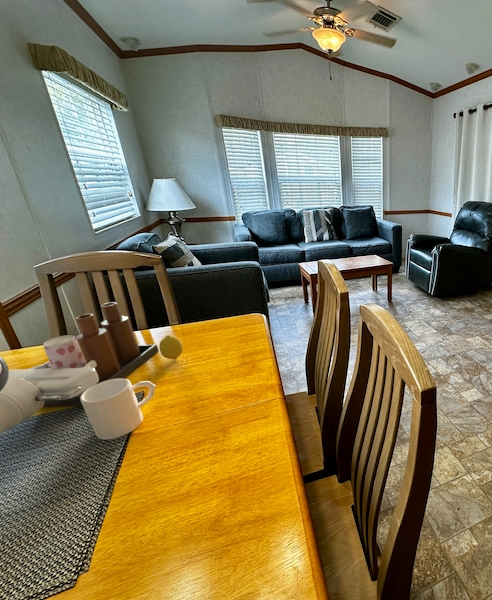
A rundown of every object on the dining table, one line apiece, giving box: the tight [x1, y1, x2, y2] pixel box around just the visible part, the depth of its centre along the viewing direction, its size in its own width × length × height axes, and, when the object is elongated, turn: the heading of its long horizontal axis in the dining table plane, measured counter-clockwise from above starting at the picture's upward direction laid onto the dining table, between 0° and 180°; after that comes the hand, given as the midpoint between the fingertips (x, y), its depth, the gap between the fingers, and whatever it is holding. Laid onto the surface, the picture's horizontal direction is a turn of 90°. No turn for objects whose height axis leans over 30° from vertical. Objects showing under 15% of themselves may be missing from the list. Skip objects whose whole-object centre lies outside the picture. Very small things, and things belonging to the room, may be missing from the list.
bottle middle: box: [75, 313, 121, 381], centre depth 86 cm, size 6×6×18 cm
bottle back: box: [100, 301, 141, 364], centre depth 94 cm, size 6×6×18 cm
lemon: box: [158, 334, 184, 361], centre depth 96 cm, size 6×6×8 cm
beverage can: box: [42, 334, 96, 396], centre depth 79 cm, size 6×6×15 cm
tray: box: [42, 343, 160, 408], centre depth 89 cm, size 25×11×2 cm, turn 2°
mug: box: [80, 378, 157, 441], centre depth 71 cm, size 8×12×10 cm, turn 131°
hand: (73, 363), depth 80 cm, fingers open, 8 cm apart
